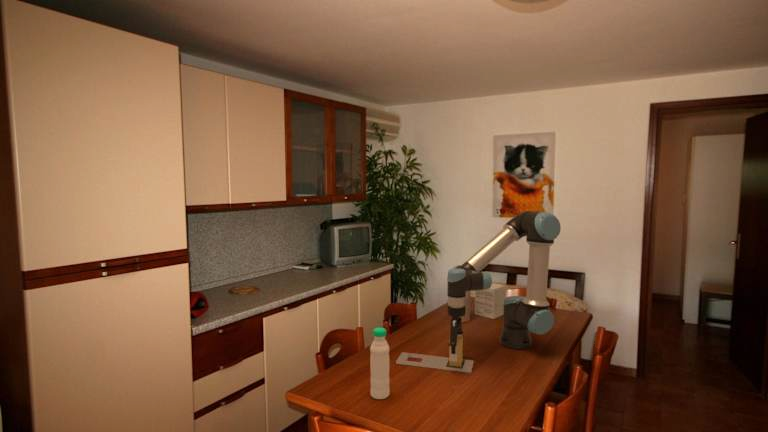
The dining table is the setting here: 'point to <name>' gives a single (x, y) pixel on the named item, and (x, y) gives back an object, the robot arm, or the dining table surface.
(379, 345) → the water bottle
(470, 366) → the white flat board
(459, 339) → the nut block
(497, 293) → the supplement box
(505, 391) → the dining table surface
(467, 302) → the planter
